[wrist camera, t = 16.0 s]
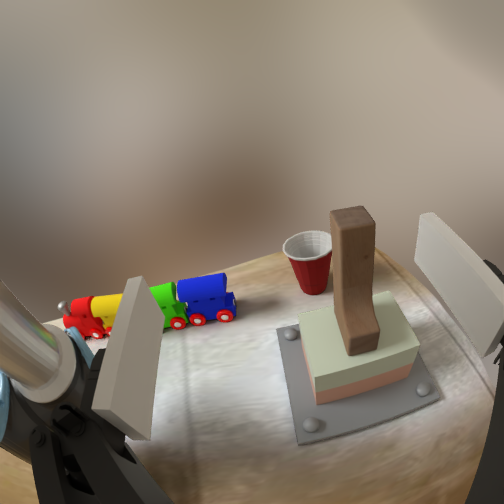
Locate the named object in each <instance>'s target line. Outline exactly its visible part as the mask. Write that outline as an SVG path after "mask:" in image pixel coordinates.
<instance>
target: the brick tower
mask: <svg viewBox="0 0 504 504" xmlns="http://www.w3.org/2000/svg"><path fill="white" fill-rule="evenodd" d="M372 299H373V305H374V311H375V316H376V319H377V321H378V324H379V327H380V336H379V342H378V346H377V349H376V350H373V351H369V352H365V353H361V354H357V355H353V356H348V355H347V352H346V349H345V346H344V342H343V339H342V336H341V332H340V329H339V326H338V323H337V319H336V316H335V313H334V305H333V306H329V307H325V308H321V309H317V310H313V311H309V312H305V313H300V314H298V320H299V324H296V325H292V326H288V327H283V328H278V329H276V330H277V335H278V341H279V346H280V351H281V356H282V362H283V367H284V372H285V377H286V383H287V388H288V393H289V399H290V404H291V409H292V415H293V420H294V426H295V431H296V436H297V442H298V445H303V444H308V443H312V442H317V441H321V440H325V439H329V438H333V437H337V436H341V435H344V434H348V433H351V432H355V431H358V430H361V429H365V428H368V427H371V426H374V425H377V424H380V423H383V422H386V421H388V420H391V419H394V418H397V417H399V416H402V415H404V414H407V413H409V412H412V411H414V410H417V409H419V408H422V407H424V406H426V405H428V404H431V403H433V402H435V401H437V400H439V398H440V395H439V393H438V391H437V389H436V387H435V385H434V383H433V381H432V378H431V376H430V374H429V372H428V370H427V368H426V366H425V364H424V362H423V360H422V358H421V356H420V354H419V352H418V350H419V347H420V343H419V341H418V339H417V337H416V335H415V334H414V332H413V330H412V328H411V326H410V325H409V323H408V321H407V319H406V318H405V316H404V314H403V312H402V311H401V309H400V307H399V306H398V304H397V302H396V301H395V299H394V297H393V296H392V294H391V292H390V291H385V292H382V293H378V294H375V295H372Z"/></svg>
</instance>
